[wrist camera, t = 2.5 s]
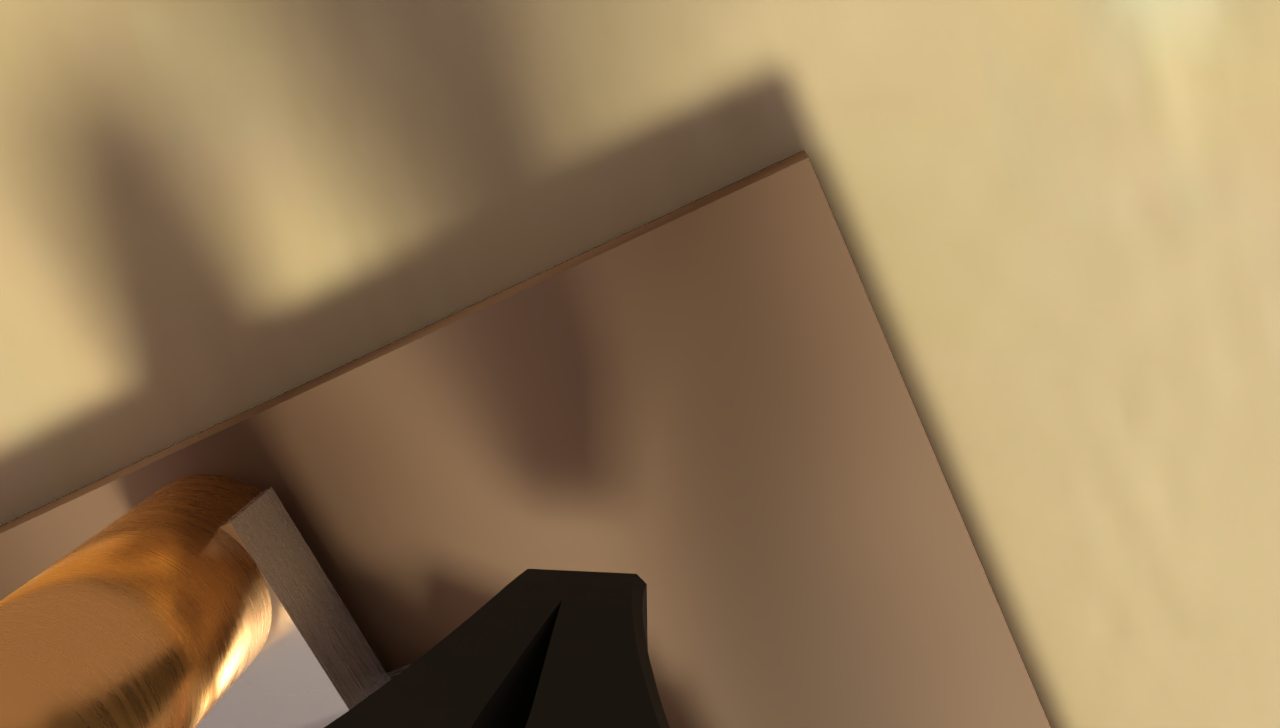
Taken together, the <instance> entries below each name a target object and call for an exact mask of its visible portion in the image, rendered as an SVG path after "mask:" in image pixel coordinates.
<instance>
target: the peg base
mask: <svg viewBox="0 0 1280 728" xmlns="http://www.w3.org/2000/svg"><path fill="white" fill-rule="evenodd" d="M199 474H213V475H221V476H227V477H231V478H234V479H237V480H240V481H243V482H245V483H247V484H249V485H252V486H253V487H255V488H257V489H259V490H260V491H264V490H266V489H268V488H271V487H272V488H273V490H274V491H275V493H276V495H277V496H278V498H279V500H280V501H281V503H282V504H283V506H284V508H285V509H286V511H287V513H288V514H289V516H290V517H291V519H292V521H293V522H294V524H295V525H296V527H297V529H298V530H299V532H300V534H301V535H302V537H303V538H304V540H305V542H306V543H307V545H308V547H309V548H310V550H311V551H312V553H313V555H314V556H315V558H316V560H317V561H318V563H319V564H320V566H321V568H322V569H323V571H324V572H325V574H326V576H327V577H328V579H329V581H330V582H331V584H332V585H333V587H334V589H335V590H336V592H337V594H338V595H339V597H340V598H341V600H342V602H343V603H344V605H345V607H346V608H347V610H348V611H349V613H350V615H351V616H352V618H353V619H354V621H355V623H356V624H357V626H358V628H359V629H360V631H361V632H362V634H363V636H364V637H365V639H366V641H367V642H368V644H369V645H370V647H371V649H372V650H373V652H374V653H375V655H376V657H377V658H378V660H379V662H380V663H381V665H382V666H383V668H384V670H385V671H386V673H387V672H390V671H393V670H395V669H398V668H401V667H403V666H406V665H409V664H411V665H412V664H413V663H414V662H416V661H417V660H418V659H419V658H421V657H422V656H423V655H424V654H426V653H427V652H428V651H429V650H431V649H432V648H433V647H434V646H435V645H437V644H438V643H439V642H440V641H442V640H443V639H444V638H445V637H446V636H448V635H449V634H450V633H451V632H452V631H454V630H455V629H456V628H457V627H459V626H460V625H461V624H462V623H463V622H465V621H466V620H467V619H468V618H469V617H471V616H472V615H473V614H474V613H475V612H476V611H478V610H479V609H480V608H481V607H482V606H484V605H485V604H486V603H487V602H488V601H489V600H490V599H492V598H493V597H494V596H495V595H496V594H497V593H499V592H500V591H501V590H502V589H503V588H504V587H506V586H507V585H508V584H509V583H510V582H512V581H513V580H514V579H515V578H516V577H518V576H519V575H520V574H521V573H523V572H524V571H525V570H526V569H546V570H567V571H589V572H610V573H631V574H637V575H638V576H639V577H640V578H641V579H642V580H643V581H644V582H645V583H646V584H647V638H648V654H649V659H650V663H651V667H652V670H653V674H654V678H655V682H656V686H657V689H658V693H659V697H660V700H661V703H662V706H663V709H664V712H665V715H666V718H667V721H668V724H669V726H670V728H1051V727H1050V725H1049V722H1048V720H1047V718H1046V715H1045V713H1044V711H1043V708H1042V706H1041V703H1040V701H1039V699H1038V696H1037V694H1036V692H1035V689H1034V687H1033V685H1032V682H1031V680H1030V678H1029V675H1028V673H1027V671H1026V668H1025V666H1024V663H1023V661H1022V659H1021V656H1020V654H1019V652H1018V649H1017V647H1016V645H1015V642H1014V640H1013V638H1012V635H1011V633H1010V631H1009V628H1008V626H1007V623H1006V621H1005V619H1004V616H1003V614H1002V612H1001V609H1000V607H999V605H998V602H997V600H996V598H995V595H994V593H993V591H992V588H991V586H990V583H989V581H988V579H987V576H986V574H985V572H984V569H983V567H982V565H981V562H980V560H979V558H978V555H977V553H976V550H975V548H974V546H973V543H972V541H971V539H970V536H969V534H968V532H967V529H966V527H965V525H964V522H963V520H962V518H961V515H960V513H959V510H958V508H957V506H956V503H955V501H954V499H953V496H952V494H951V492H950V489H949V487H948V485H947V482H946V480H945V478H944V475H943V473H942V470H941V468H940V466H939V463H938V461H937V459H936V456H935V454H934V452H933V449H932V447H931V445H930V442H929V440H928V438H927V435H926V433H925V430H924V428H923V426H922V423H921V421H920V419H919V416H918V414H917V412H916V409H915V407H914V405H913V402H912V400H911V397H910V395H909V393H908V390H907V388H906V386H905V383H904V381H903V379H902V376H901V374H900V372H899V369H898V367H897V365H896V362H895V360H894V357H893V355H892V353H891V350H890V348H889V346H888V343H887V341H886V339H885V336H884V334H883V332H882V329H881V327H880V325H879V322H878V320H877V317H876V315H875V313H874V310H873V308H872V306H871V303H870V301H869V299H868V296H867V294H866V292H865V289H864V287H863V285H862V282H861V280H860V277H859V275H858V273H857V270H856V268H855V266H854V263H853V261H852V259H851V256H850V254H849V252H848V249H847V247H846V245H845V242H844V240H843V237H842V235H841V233H840V230H839V228H838V226H837V223H836V221H835V219H834V216H833V214H832V212H831V209H830V207H829V204H828V202H827V200H826V197H825V195H824V193H823V190H822V188H821V186H820V183H819V181H818V179H817V176H816V174H815V172H814V169H813V167H812V164H811V162H810V160H809V157H808V156H807V154H806V153H805V151H801V152H799V153H797V154H795V155H793V156H791V157H789V158H786V159H784V160H782V161H780V162H778V163H776V164H774V165H771V166H769V167H767V168H765V169H763V170H761V171H759V172H757V173H754V174H752V175H750V176H748V177H746V178H744V179H742V180H739V181H737V182H735V183H733V184H731V185H729V186H727V187H724V188H722V189H720V190H718V191H716V192H714V193H712V194H710V195H707V196H705V197H703V198H701V199H699V200H697V201H695V202H692V203H690V204H688V205H686V206H684V207H682V208H680V209H677V210H675V211H673V212H671V213H669V214H667V215H665V216H662V217H660V218H658V219H656V220H654V221H652V222H650V223H648V224H645V225H643V226H641V227H639V228H637V229H635V230H633V231H630V232H628V233H626V234H624V235H622V236H620V237H618V238H615V239H613V240H611V241H609V242H607V243H605V244H603V245H601V246H598V247H596V248H594V249H592V250H590V251H588V252H586V253H583V254H581V255H579V256H577V257H575V258H573V259H571V260H568V261H566V262H564V263H562V264H560V265H558V266H556V267H554V268H551V269H549V270H547V271H545V272H543V273H541V274H539V275H536V276H534V277H532V278H530V279H528V280H526V281H524V282H521V283H519V284H517V285H515V286H513V287H511V288H509V289H507V290H504V291H502V292H500V293H498V294H496V295H494V296H492V297H489V298H487V299H485V300H483V301H481V302H479V303H477V304H474V305H472V306H470V307H468V308H466V309H464V310H462V311H459V312H457V313H455V314H453V315H451V316H449V317H447V318H445V319H442V320H440V321H438V322H436V323H434V324H432V325H430V326H427V327H425V328H423V329H421V330H419V331H417V332H415V333H412V334H410V335H408V336H406V337H404V338H402V339H400V340H398V341H395V342H393V343H391V344H389V345H387V346H385V347H383V348H380V349H378V350H376V351H374V352H372V353H370V354H368V355H365V356H363V357H361V358H359V359H357V360H355V361H353V362H351V363H348V364H346V365H344V366H342V367H340V368H338V369H336V370H333V371H331V372H329V373H327V374H325V375H323V376H321V377H318V378H316V379H314V380H312V381H310V382H308V383H306V384H303V385H301V386H299V387H297V388H295V389H293V390H291V391H289V392H286V393H284V394H282V395H280V396H278V397H276V398H274V399H271V400H269V401H267V402H265V403H263V404H261V405H259V406H256V407H254V408H252V409H250V410H248V411H246V412H244V413H242V414H239V415H237V416H235V417H233V418H231V419H229V420H227V421H224V422H222V423H220V424H218V425H216V426H214V427H212V428H209V429H207V430H205V431H203V432H201V433H199V434H197V435H195V436H192V437H190V438H188V439H186V440H184V441H182V442H180V443H177V444H175V445H173V446H171V447H169V448H167V449H165V450H162V451H160V452H158V453H156V454H154V455H152V456H150V457H147V458H145V459H143V460H141V461H139V462H137V463H135V464H133V465H130V466H128V467H126V468H124V469H122V470H120V471H118V472H115V473H113V474H111V475H109V476H107V477H105V478H103V479H100V480H98V481H96V482H94V483H92V484H90V485H88V486H86V487H83V488H81V489H79V490H77V491H75V492H73V493H71V494H68V495H66V496H64V497H62V498H60V499H58V500H56V501H53V502H51V503H49V504H47V505H45V506H43V507H41V508H39V509H36V510H34V511H32V512H30V513H28V514H26V515H24V516H21V517H19V518H17V519H15V520H13V521H11V522H9V523H6V524H4V525H2V526H0V601H1V600H3V599H4V598H5V597H7V596H8V595H10V594H11V593H13V592H14V591H15V590H17V589H18V588H20V587H21V586H23V585H24V584H25V583H27V582H28V581H30V580H31V579H33V578H34V577H35V576H37V575H38V574H40V573H41V572H43V571H44V570H45V569H47V568H48V567H50V566H51V565H53V564H54V563H55V562H57V561H58V560H60V559H61V558H63V557H64V556H65V555H67V554H68V553H70V552H71V551H73V550H74V549H75V548H77V547H78V546H80V545H81V544H83V543H84V542H85V541H87V540H88V539H90V538H91V537H93V536H94V535H95V534H97V533H98V532H100V531H101V530H103V529H104V528H105V527H107V526H108V525H110V524H111V523H113V522H114V521H115V520H117V519H118V518H120V517H121V516H123V515H124V514H125V513H127V512H128V511H130V510H131V509H133V508H134V507H135V506H137V505H138V504H140V503H141V502H143V501H144V500H145V499H147V498H148V497H150V496H151V495H153V494H154V493H155V492H157V491H158V490H160V489H161V488H163V487H164V486H165V485H167V484H169V483H171V482H173V481H175V480H177V479H180V478H183V477H187V476H191V475H199Z"/></svg>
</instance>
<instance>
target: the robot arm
mask: <svg viewBox="0 0 1280 728" xmlns="http://www.w3.org/2000/svg"><path fill="white" fill-rule="evenodd" d="M324 728H670V726H669V724H668V721H667V718H666V715H665V712H664V709H663V706H662V703H661V700H660V697H659V693H658V689H657V686H656V682H655V678H654V674H653V670H652V667H651V663H650V659H649V654H648V638H647V584H646V583H645V582H644V581H643V580H642V579H641V578H640V577H639V576H638V575H637V574H631V573H610V572H589V571H567V570H546V569H526V570H525V571H524V572H523V573H521V574H520V575H519V576H518V577H516V578H515V579H514V580H513V581H512V582H510V583H509V584H508V585H507V586H506V587H504V588H503V589H502V590H501V591H500V592H499V593H497V594H496V595H495V596H494V597H493V598H492V599H490V600H489V601H488V602H487V603H486V604H485V605H484V606H482V607H481V608H480V609H479V610H478V611H476V612H475V613H474V614H473V615H472V616H471V617H469V618H468V619H467V620H466V621H465V622H463V623H462V624H461V625H460V626H459V627H457V628H456V629H455V630H454V631H452V632H451V633H450V634H449V635H448V636H446V637H445V638H444V639H443V640H442V641H440V642H439V643H438V644H437V645H435V646H434V647H433V648H432V649H431V650H429V651H428V652H427V653H426V654H424V655H423V656H422V657H421V658H419V659H418V660H417V661H416V662H414V663H413V664H412V665H410V666H409V667H407V668H406V669H405V670H403V671H402V672H401V673H399V674H398V675H397V676H395V677H394V678H392V679H391V680H390V681H388V682H387V683H386V684H384V685H383V686H382V687H380V688H379V689H378V690H376V691H375V692H373V693H372V694H371V695H369V696H368V697H367V698H365V699H364V700H363V701H361V702H360V703H358V704H357V705H356V706H354V707H353V708H352V709H350V710H349V711H348V712H346V713H345V714H343V715H342V716H340V717H339V718H337V719H336V720H334V721H333V722H331V723H330V724H329V725H327V726H326V727H324Z"/></svg>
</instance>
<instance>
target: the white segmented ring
mask: <svg viewBox="0 0 1280 728" xmlns="http://www.w3.org/2000/svg"><path fill="white" fill-rule="evenodd" d="M410 665H411V664H409V665H406V666H403V667H401V668H398V669H395V670H393V671H390V672H387V673H386V671H385V670H384V668H383V666H382V665H381V663H380V662H379V660H378V658H377V657H376V655H375V653H374V652H373V650H372V649H371V647H370V645H369V644H368V642H367V641H366V639H365V637H364V636H363V634H362V632H361V631H360V629H359V628H358V626H357V624H356V623H355V621H354V619H353V618H352V616H351V615H350V613H349V611H348V610H347V608H346V607H345V605H344V603H343V602H342V600H341V598H340V597H339V595H338V594H337V592H336V590H335V589H334V587H333V585H332V584H331V582H330V581H329V579H328V577H327V576H326V574H325V572H324V571H323V569H322V568H321V566H320V564H319V563H318V561H317V560H316V558H315V556H314V555H313V553H312V551H311V550H310V548H309V547H308V545H307V543H306V542H305V540H304V538H303V537H302V535H301V534H300V532H299V530H298V529H297V527H296V525H295V524H294V522H293V521H292V519H291V517H290V516H289V514H288V513H287V511H286V509H285V508H284V506H283V504H282V503H281V501H280V500H279V498H278V496H277V495H276V493H275V491H274V490H273V488H272V487H271V488H268V489H266V490H264V491H260V490H259V489H257V488H255V487H253V486H252V485H249V484H247V483H245V482H243V481H240V480H237V479H234V478H231V477H227V476H221V475H213V474H199V475H191V476H187V477H183V478H180V479H177V480H175V481H173V482H171V483H169V484H167V485H165V486H164V487H163V488H161V489H160V490H158V491H157V492H155V493H154V494H153V495H151V496H150V497H148V498H147V499H145V500H144V501H143V502H141V503H140V504H138V505H137V506H135V507H134V508H133V509H131V510H130V511H128V512H127V513H125V514H124V515H123V516H121V517H120V518H118V519H117V520H115V521H114V522H113V523H111V524H110V525H108V526H107V527H105V528H104V529H103V530H101V531H100V532H98V533H97V534H95V535H94V536H93V537H91V538H90V539H88V540H87V541H85V542H84V543H83V544H81V545H80V546H78V547H77V548H75V549H74V550H73V551H71V552H70V553H68V554H67V555H65V556H64V557H63V558H61V559H60V560H58V561H57V562H55V563H54V564H53V565H51V566H50V567H48V568H47V569H45V570H44V571H43V572H41V573H40V574H38V575H37V576H35V577H34V578H33V579H31V580H30V581H28V582H27V583H25V584H24V585H23V586H21V587H20V588H18V589H17V590H15V591H14V592H13V593H11V594H10V595H8V596H7V597H5V598H4V599H3V600H1V601H0V728H324V727H326V726H327V725H329V724H330V723H331V722H333V721H334V720H336V719H337V718H339V717H340V716H342V715H343V714H345V713H346V712H348V711H349V710H350V709H352V708H353V707H354V706H356V705H357V704H358V703H360V702H361V701H363V700H364V699H365V698H367V697H368V696H369V695H371V694H372V693H373V692H375V691H376V690H378V689H379V688H380V687H382V686H383V685H384V684H386V683H387V682H388V681H390V680H391V679H392V678H394V677H395V676H397V675H398V674H399V673H401V672H402V671H403V670H405V669H406V668H407V667H409V666H410Z"/></svg>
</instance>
